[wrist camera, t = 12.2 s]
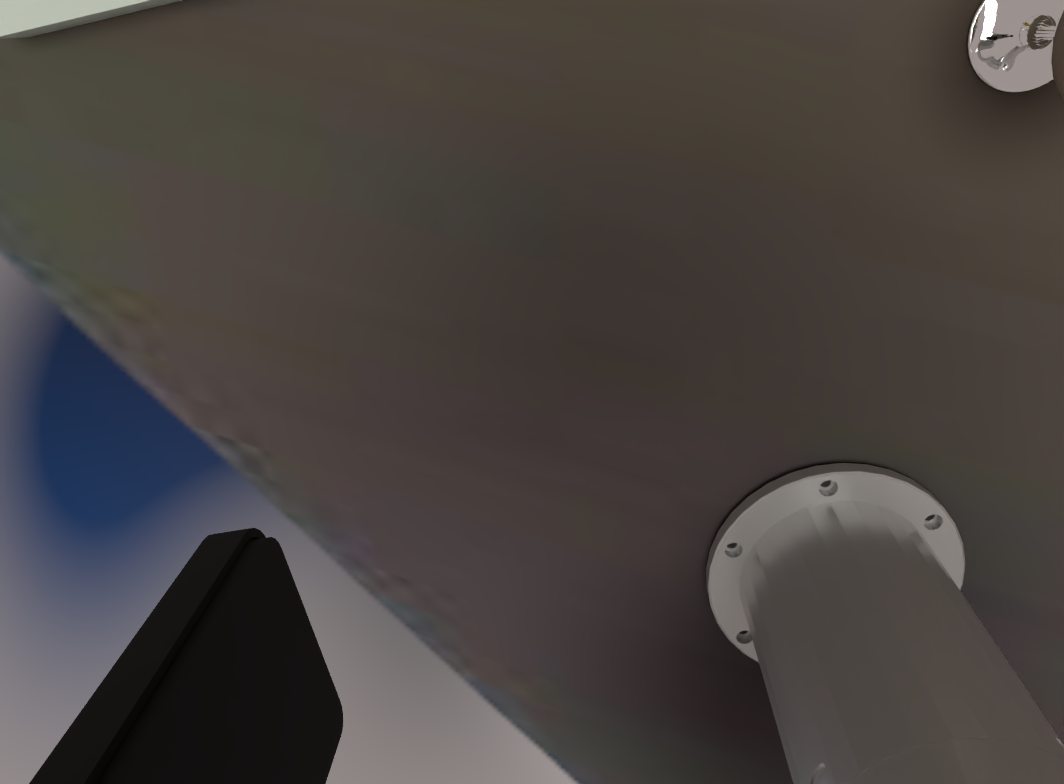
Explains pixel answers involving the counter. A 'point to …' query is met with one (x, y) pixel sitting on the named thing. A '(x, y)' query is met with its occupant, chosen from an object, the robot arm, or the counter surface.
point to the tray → (62, 14)
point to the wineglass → (1018, 44)
